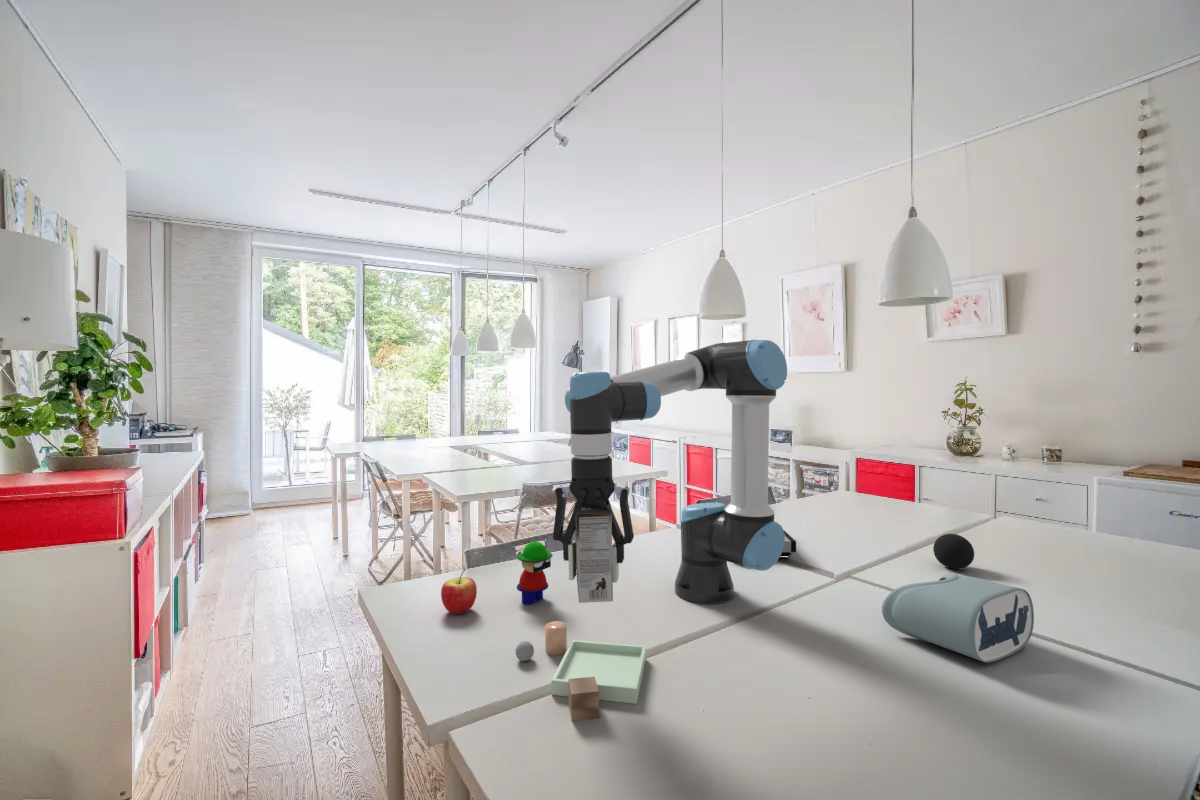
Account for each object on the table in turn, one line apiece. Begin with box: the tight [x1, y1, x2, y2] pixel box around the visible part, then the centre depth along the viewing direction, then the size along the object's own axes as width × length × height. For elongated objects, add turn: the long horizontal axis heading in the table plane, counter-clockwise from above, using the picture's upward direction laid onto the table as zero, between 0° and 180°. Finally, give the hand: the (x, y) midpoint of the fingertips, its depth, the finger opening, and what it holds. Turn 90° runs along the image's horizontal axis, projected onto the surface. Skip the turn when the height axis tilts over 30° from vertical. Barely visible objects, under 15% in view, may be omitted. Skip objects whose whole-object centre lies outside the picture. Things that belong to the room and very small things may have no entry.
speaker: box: [932, 533, 975, 570], centre depth 155 cm, size 10×10×10 cm
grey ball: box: [515, 640, 535, 662], centre depth 105 cm, size 4×4×4 cm
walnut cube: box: [568, 676, 600, 722], centre depth 88 cm, size 4×4×4 cm
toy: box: [516, 540, 554, 606], centre depth 133 cm, size 9×9×15 cm
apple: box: [440, 568, 478, 615], centre depth 127 cm, size 8×8×10 cm
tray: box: [551, 639, 647, 705], centre depth 99 cm, size 15×15×3 cm
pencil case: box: [881, 572, 1035, 664], centre depth 112 cm, size 22×19×13 cm
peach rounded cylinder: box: [544, 620, 568, 656], centre depth 108 cm, size 4×4×5 cm
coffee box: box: [574, 502, 614, 604], centre depth 98 cm, size 9×6×16 cm
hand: (594, 578), depth 98 cm, fingers closed on coffee box, 7 cm apart
